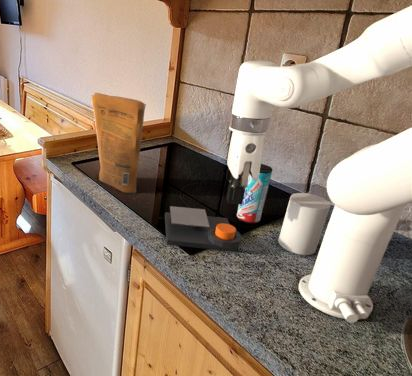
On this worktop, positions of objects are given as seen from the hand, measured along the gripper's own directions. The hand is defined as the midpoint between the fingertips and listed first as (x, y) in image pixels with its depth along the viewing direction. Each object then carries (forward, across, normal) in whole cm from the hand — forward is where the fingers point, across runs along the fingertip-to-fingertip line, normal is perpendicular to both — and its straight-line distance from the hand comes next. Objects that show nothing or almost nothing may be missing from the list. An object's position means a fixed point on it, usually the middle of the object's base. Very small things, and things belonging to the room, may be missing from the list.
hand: (234, 202), depth 92 cm
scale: (+11, +4, +6) cm, 14 cm away
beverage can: (+12, +14, -8) cm, 20 cm away
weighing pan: (+8, +7, +8) cm, 14 cm away
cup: (+12, +3, -17) cm, 21 cm away
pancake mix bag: (+11, +29, +29) cm, 42 cm away
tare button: (+9, 0, +1) cm, 9 cm away
